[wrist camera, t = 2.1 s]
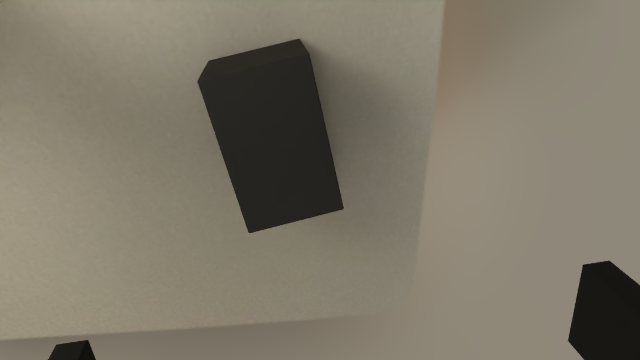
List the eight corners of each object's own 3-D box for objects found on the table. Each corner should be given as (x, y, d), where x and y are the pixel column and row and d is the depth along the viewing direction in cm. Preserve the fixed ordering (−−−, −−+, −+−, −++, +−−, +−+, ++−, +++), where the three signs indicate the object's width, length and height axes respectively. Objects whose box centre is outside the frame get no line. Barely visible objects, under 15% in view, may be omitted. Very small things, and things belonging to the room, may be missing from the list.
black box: (299, 38, 24) (309, 53, 20) (329, 171, 28) (344, 209, 23) (208, 60, 24) (196, 80, 19) (250, 191, 27) (248, 233, 23)
